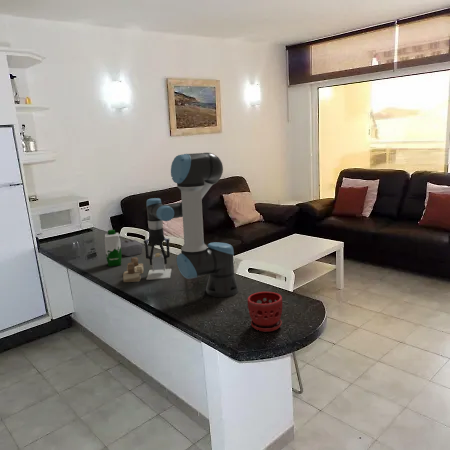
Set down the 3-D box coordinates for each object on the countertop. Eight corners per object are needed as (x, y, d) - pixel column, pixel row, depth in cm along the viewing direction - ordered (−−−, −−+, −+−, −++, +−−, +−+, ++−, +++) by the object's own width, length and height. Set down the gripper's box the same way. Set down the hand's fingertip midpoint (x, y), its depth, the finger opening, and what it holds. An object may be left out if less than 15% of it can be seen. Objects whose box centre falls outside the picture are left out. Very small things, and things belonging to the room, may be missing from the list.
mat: (169, 278, 212) (169, 277, 212) (146, 279, 211) (146, 278, 211) (171, 269, 225) (171, 268, 225) (149, 270, 225) (149, 269, 224)
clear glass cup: (163, 269, 215) (162, 255, 213) (153, 270, 214) (152, 255, 213) (164, 265, 220) (162, 252, 219) (154, 266, 220) (153, 252, 218)
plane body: (139, 281, 209) (137, 264, 207) (123, 282, 209) (122, 265, 207) (143, 270, 226) (142, 254, 224) (128, 271, 225) (127, 255, 223)
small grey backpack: (145, 253, 259) (134, 247, 275) (144, 240, 257) (133, 235, 273) (122, 258, 251) (112, 251, 267) (121, 245, 249) (111, 238, 266)
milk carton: (122, 261, 244) (119, 228, 240) (122, 265, 236) (119, 232, 231) (107, 262, 242) (103, 230, 238) (107, 267, 233) (103, 233, 229)
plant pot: (281, 318, 162) (280, 290, 159) (284, 334, 149) (283, 303, 146) (248, 318, 162) (247, 290, 160) (248, 334, 150) (247, 304, 147)
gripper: (173, 225, 217) (176, 267, 222) (139, 227, 216) (142, 269, 221) (172, 228, 209) (175, 271, 215) (137, 230, 208) (141, 273, 213)
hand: (159, 270), depth 218 cm, fingers closed on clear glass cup, 5 cm apart
